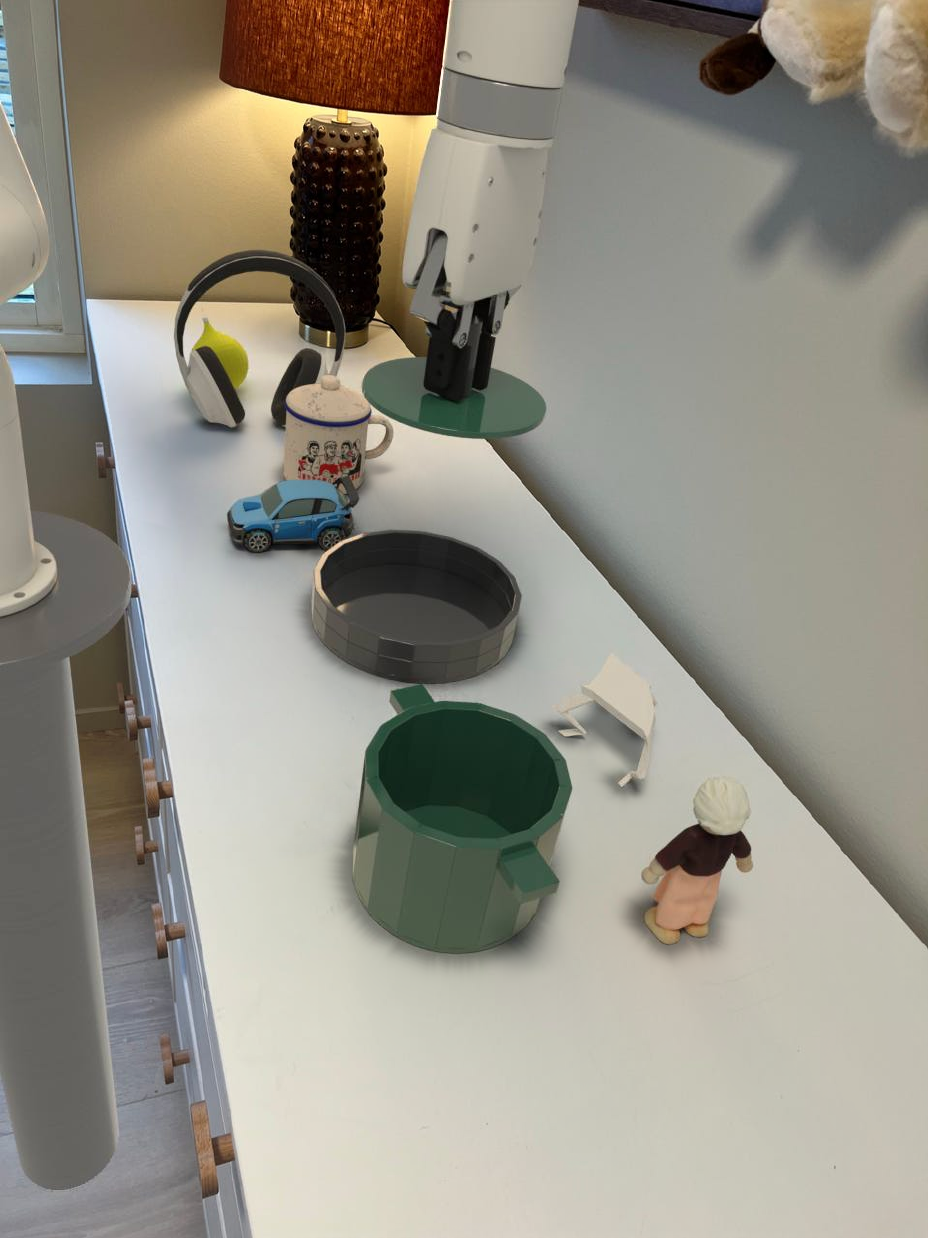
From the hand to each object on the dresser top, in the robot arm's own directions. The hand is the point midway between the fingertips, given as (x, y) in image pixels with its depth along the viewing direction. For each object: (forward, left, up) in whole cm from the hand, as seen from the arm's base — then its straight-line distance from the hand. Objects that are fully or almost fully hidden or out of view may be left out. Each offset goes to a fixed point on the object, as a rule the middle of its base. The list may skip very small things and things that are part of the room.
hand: (455, 386), depth 71 cm
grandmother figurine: (+4, -32, -24) cm, 40 cm away
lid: (0, 0, -1) cm, 1 cm away
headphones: (+1, +46, -24) cm, 52 cm away
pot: (-8, -23, -24) cm, 34 cm away
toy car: (-4, +20, -24) cm, 32 cm away
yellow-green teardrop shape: (-1, +56, -24) cm, 61 cm away
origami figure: (+10, -16, -24) cm, 30 cm away
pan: (+2, +4, -24) cm, 24 cm away
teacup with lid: (+5, +31, -24) cm, 39 cm away
